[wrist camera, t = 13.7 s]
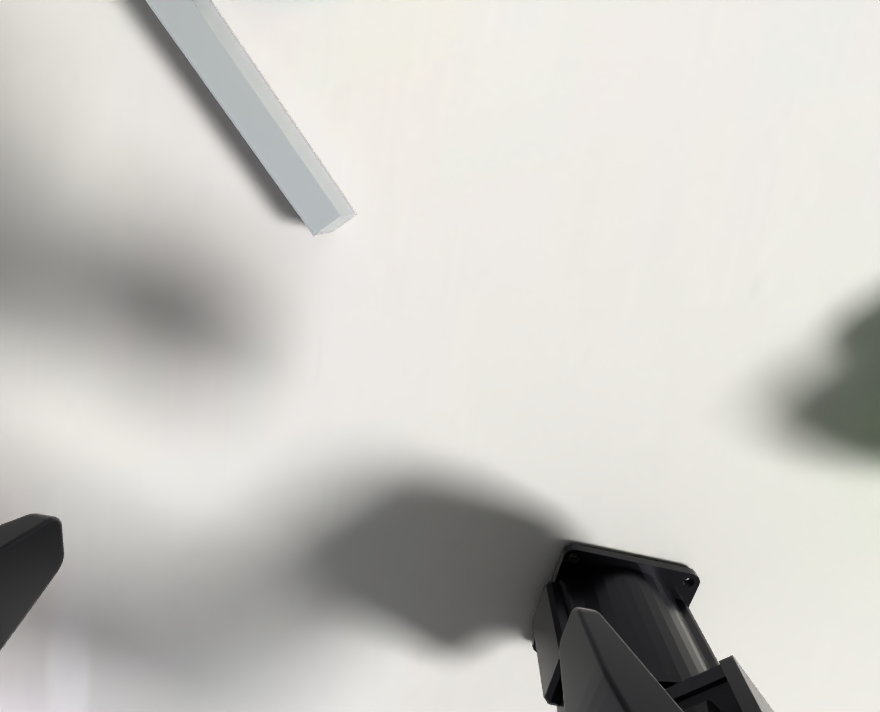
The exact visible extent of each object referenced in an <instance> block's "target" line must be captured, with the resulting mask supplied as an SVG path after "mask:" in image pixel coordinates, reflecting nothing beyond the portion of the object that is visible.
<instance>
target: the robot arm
mask: <svg viewBox="0 0 880 712" xmlns="http://www.w3.org/2000/svg"><path fill="white" fill-rule="evenodd" d="M572 554H577V555H576V556H575V557H570V555H572ZM63 558H64V547H63V534H62V524H61V521H60V520H59V518H57V517H54V516H48V515H42V514H29V515H26V516H23V517H21V518H18V519H15V520H13V521H10V522H8V523H5V524H2V525H0V650H1V649H2V648H3V646H4V645H5V644H6V642H7V641H8V639H9V638H10V637H11V635H12V634H13V633H14V631H15V630H16V628H17V627H18V626H19V624H20V623H21V621H22V620H23V619H24V617H25V616H26V615H27V613H28V612H29V610H30V609H31V608H32V606H33V605H34V603H35V602H36V601H37V599H38V598H39V597H40V595H41V594H42V592H43V591H44V590H45V588H46V587H47V585H48V584H49V583H50V581H51V580H52V579H53V577H54V576H55V574H56V573H57V572H58V570H59V568H60V566H61V564H62V562H63ZM687 578H689V579H688V580H686V581H684V580H685V579H687ZM699 583H700V580H699V577H698V576H697V574H696V573H695V571H694V570H693V569H690V568H687V567H682V566H678V565H673V564H668V563H663V562H659V561H654V560H649V559H644V558H640V557H635V556H630V555H625V554H621V553H616V552H611V551H606V550H602V549H597V548H592V547H587V546H583V545H578V544H569V545H567V546H565V547H564V548H563V550H562V552H561V555H560V558H559V561H558V564H557V566H556V569H555V572H554V575H553V578H552V581H549V582H548V583H546V584H545V586H544V589H543V592H542V595H541V598H540V601H539V604H538V607H537V610H536V613H535V616H534V618H533V630H534V633H533V635H532V646H533V649H534V650H535V651H536V652H537V656H538V663H539V669H540V676H541V683H542V689H543V696H544V698H545V700H546V701H547V703H548V704H550V705H555V706H557V712H774V711H773V710H772V709H771V707H770V706H769V704H768V703H767V702H766V700H765V699H764V698H763V696H762V695H761V694H760V692H759V691H758V689H757V688H756V687H755V685H754V684H753V683H752V681H751V680H750V678H749V677H748V676H747V674H746V673H745V672H744V670H743V669H742V667H741V666H740V665H739V663H738V662H737V661H736V659H735V658H734V657H733V655H732V656H730V657H728V658H725V659H723V660H721V661H719V663H720V665H719V663H718V661H717V659H716V657H715V655H714V654H713V652H712V650H711V648H710V646H709V644H708V643H707V641H706V639H705V637H704V635H703V633H702V631H701V630H700V628H699V626H698V624H697V622H696V620H695V619H694V617H693V615H692V613H691V611H690V609H689V608H688V607H689V605H690V603H691V601H692V599H693V597H694V595H695V593H696V590H697V588H698V586H699Z"/></svg>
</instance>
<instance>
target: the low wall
mask: <svg viewBox="0 0 880 712" xmlns="http://www.w3.org/2000/svg"><path fill="white" fill-rule="evenodd" d="M145 1H146V2H147V3H148V5H149V6H150V8H151V9H152V10H153V12H154V13H155V15H156V16H157V17H158V19H159V20H160V22H161V23H162V24H163V26H164V27H165V29H166V30H167V31H168V33H169V34H170V36H171V37H172V38H173V40H174V41H175V43H176V44H177V45H178V47H179V48H180V50H181V51H182V52H183V54H184V55H185V57H186V58H187V59H188V61H189V62H190V64H191V65H192V66H193V68H194V69H195V71H196V72H197V73H198V75H199V76H200V78H201V79H202V80H203V82H204V83H205V85H206V86H207V87H208V89H209V90H210V92H211V93H212V94H213V96H214V97H215V99H216V100H217V101H218V103H219V104H220V106H221V107H222V108H223V110H224V111H225V113H226V114H227V115H228V117H229V118H230V120H231V121H232V122H233V124H234V125H235V127H236V128H237V129H238V131H239V132H240V134H241V135H242V136H243V138H244V139H245V141H246V142H247V143H248V145H249V146H250V148H251V149H252V150H253V152H254V153H255V155H256V156H257V157H258V159H259V160H260V162H261V163H262V164H263V166H264V167H265V169H266V170H267V171H268V173H269V174H270V176H271V177H272V178H273V180H274V181H275V183H276V184H277V185H278V187H279V188H280V190H281V191H282V192H283V194H284V195H285V197H286V198H287V199H288V201H289V202H290V204H291V205H292V207H293V208H294V209H295V211H296V212H297V214H298V215H299V216H300V218H301V219H302V221H303V222H304V223H305V225H306V226H307V228H308V229H309V230H310V232H311V233H312V235H313V236H315V235H320V234H324V233H329V232H333V231H334V230H336V229H337V228H338V227H340V226H341V225H342V224H344V223H345V222H347V221H348V220H349V219H351V218H352V217H354V216H355V215H356V212H355V211H354V209H353V208H352V206H351V205H350V204H349V202H348V201H347V199H346V198H345V196H344V195H343V193H342V192H341V190H340V189H339V187H338V186H337V185H336V183H335V182H334V180H333V179H332V177H331V176H330V174H329V173H328V171H327V170H326V168H325V167H324V165H323V164H322V163H321V161H320V160H319V158H318V157H317V155H316V154H315V152H314V151H313V149H312V148H311V146H310V145H309V143H308V142H307V141H306V139H305V138H304V136H303V135H302V133H301V132H300V130H299V129H298V127H297V126H296V124H295V123H294V121H293V120H292V119H291V117H290V116H289V114H288V113H287V111H286V110H285V108H284V107H283V105H282V104H281V102H280V101H279V99H278V98H277V97H276V95H275V94H274V92H273V91H272V89H271V88H270V86H269V85H268V83H267V82H266V80H265V79H264V77H263V76H262V75H261V73H260V72H259V70H258V69H257V67H256V66H255V64H254V63H253V61H252V60H251V58H250V57H249V55H248V54H247V53H246V51H245V50H244V48H243V47H242V45H241V44H240V42H239V41H238V39H237V38H236V36H235V35H234V34H233V32H232V31H231V29H230V28H229V26H228V25H227V23H226V22H225V20H224V19H223V17H222V16H221V14H220V13H219V12H218V10H217V9H216V7H215V6H214V4H213V3H212V1H211V0H145Z"/></svg>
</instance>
